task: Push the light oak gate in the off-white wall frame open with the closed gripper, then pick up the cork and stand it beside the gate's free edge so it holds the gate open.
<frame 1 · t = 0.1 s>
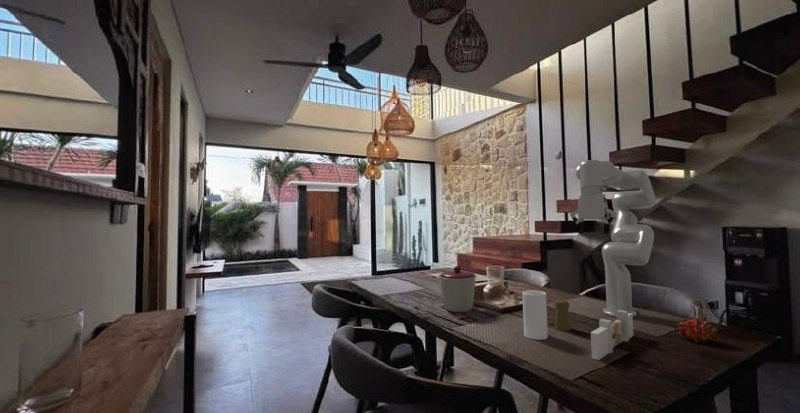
hand: (593, 233, 137), 37 cm above the table, tool pointing down, fingers open, 9 cm apart
gate: (616, 333, 116), point 4 cm above the table, hinge at 0.0°
wall frame: (614, 346, 116), on the table
canister: (458, 310, 165), on the table
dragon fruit: (696, 341, 118), on the table
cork: (562, 328, 135), on the table
cup: (535, 336, 127), on the table
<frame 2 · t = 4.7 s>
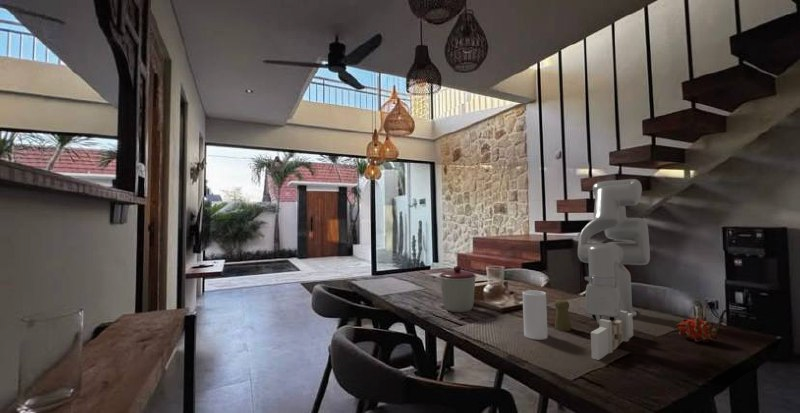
hand: (603, 334, 118), 3 cm above the table, tool pointing down, fingers closed
gate: (617, 334, 116), point 4 cm above the table, hinge at 5.3°, touching gripper
everything else where it was.
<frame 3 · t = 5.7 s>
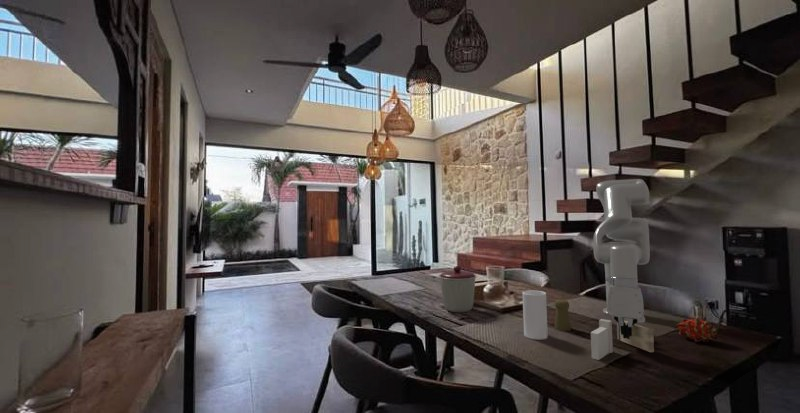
hand: (626, 337, 114), 3 cm above the table, tool pointing down, fingers closed
gate: (635, 334, 115), point 4 cm above the table, hinge at 66.1°, touching gripper
everything else where it was.
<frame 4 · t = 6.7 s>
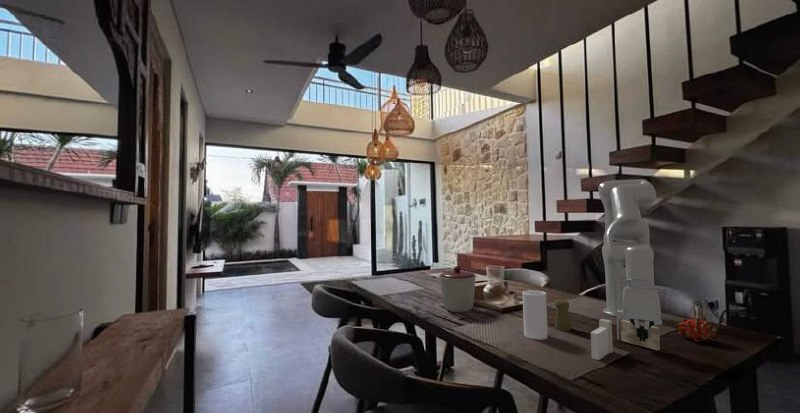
hand: (642, 340, 112), 3 cm above the table, tool pointing down, fingers closed
gate: (638, 333, 115), point 4 cm above the table, hinge at 84.4°, touching gripper
everything else where it was.
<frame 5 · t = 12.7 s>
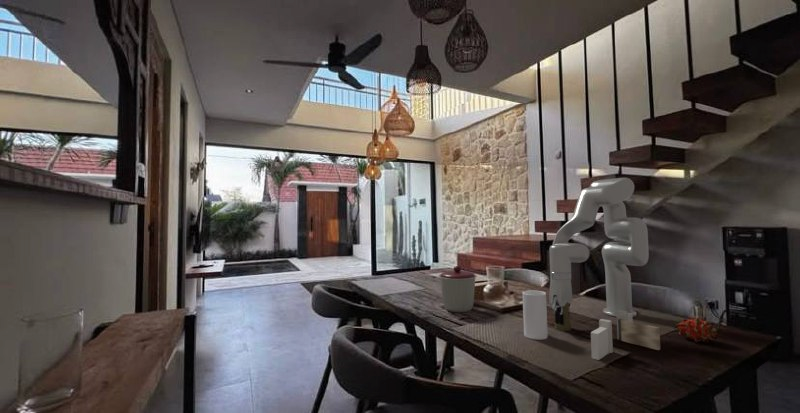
hand: (562, 322, 135), 2 cm above the table, tool pointing down, fingers closed on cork, 4 cm apart
gate: (638, 333, 115), point 4 cm above the table, hinge at 85.9°
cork: (562, 328, 135), on the table, touching gripper
everything else where it was.
when the fingers open (4 cm above the table, at t = 19.9 s): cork drops 1 cm, on the table.
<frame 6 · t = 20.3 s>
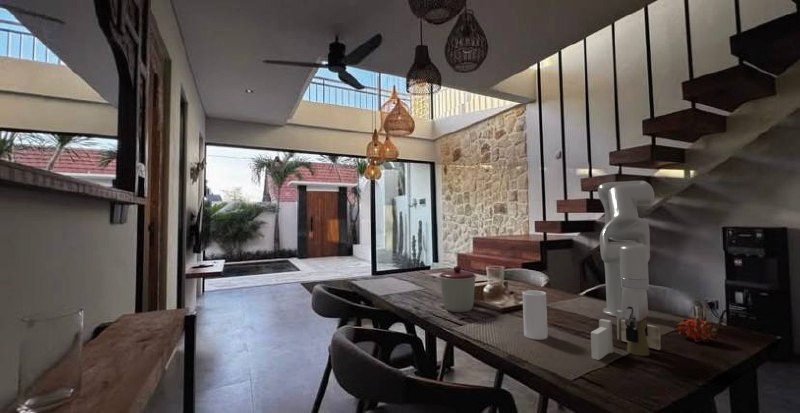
hand: (637, 338, 110), 5 cm above the table, tool pointing down, fingers open, 8 cm apart
gate: (638, 333, 116), point 4 cm above the table, hinge at 88.4°, touching gripper
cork: (638, 352, 110), on the table
everything else where it was.
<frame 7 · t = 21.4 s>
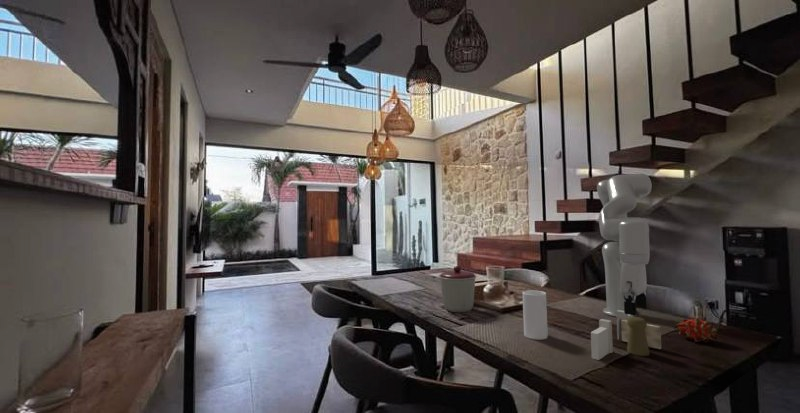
hand: (635, 310, 111), 13 cm above the table, tool pointing down, fingers open, 9 cm apart
gate: (638, 333, 116), point 4 cm above the table, hinge at 92.9°
everything else where it was.
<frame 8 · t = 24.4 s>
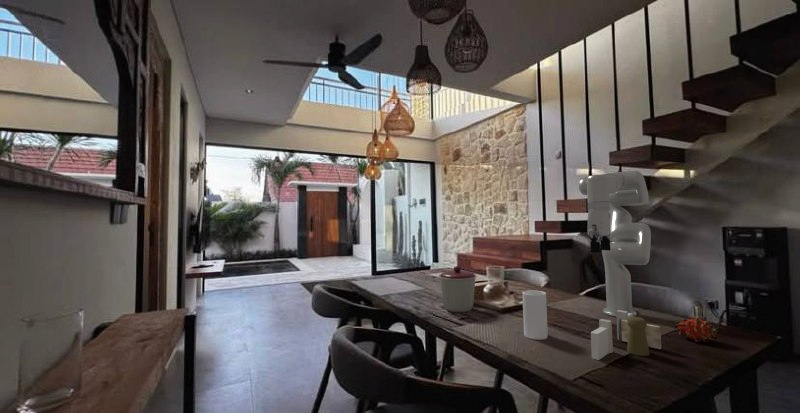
hand: (600, 251, 131), 30 cm above the table, tool pointing down, fingers open, 9 cm apart
nothing on the table moved.
at the end: gate at +93° (first picture: +0°); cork inside the target area (0.4 cm from its centre), on the table; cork tilted 0° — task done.
